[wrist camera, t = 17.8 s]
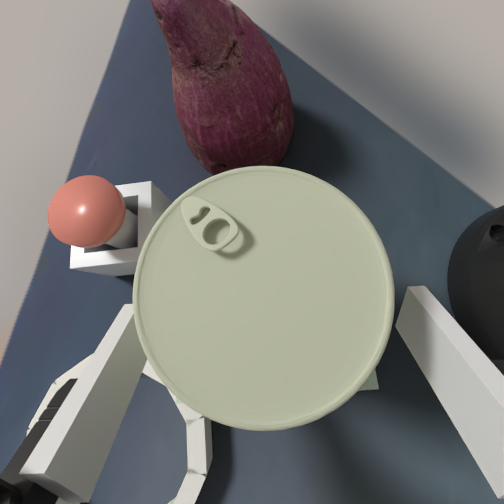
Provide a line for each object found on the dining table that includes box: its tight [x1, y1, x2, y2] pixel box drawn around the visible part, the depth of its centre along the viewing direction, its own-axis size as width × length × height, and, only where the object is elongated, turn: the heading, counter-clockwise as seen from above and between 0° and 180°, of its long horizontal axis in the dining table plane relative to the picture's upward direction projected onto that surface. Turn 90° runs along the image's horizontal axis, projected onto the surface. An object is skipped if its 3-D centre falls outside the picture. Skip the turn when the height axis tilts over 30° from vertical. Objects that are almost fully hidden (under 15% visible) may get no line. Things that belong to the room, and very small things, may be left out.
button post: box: [70, 181, 172, 276], centre depth 20 cm, size 6×6×5 cm
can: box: [133, 166, 395, 431], centre depth 14 cm, size 9×9×12 cm
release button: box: [48, 175, 138, 249], centre depth 18 cm, size 5×5×6 cm
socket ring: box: [27, 354, 213, 504], centre depth 19 cm, size 14×14×2 cm
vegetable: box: [151, 0, 294, 175], centre depth 19 cm, size 10×10×15 cm
